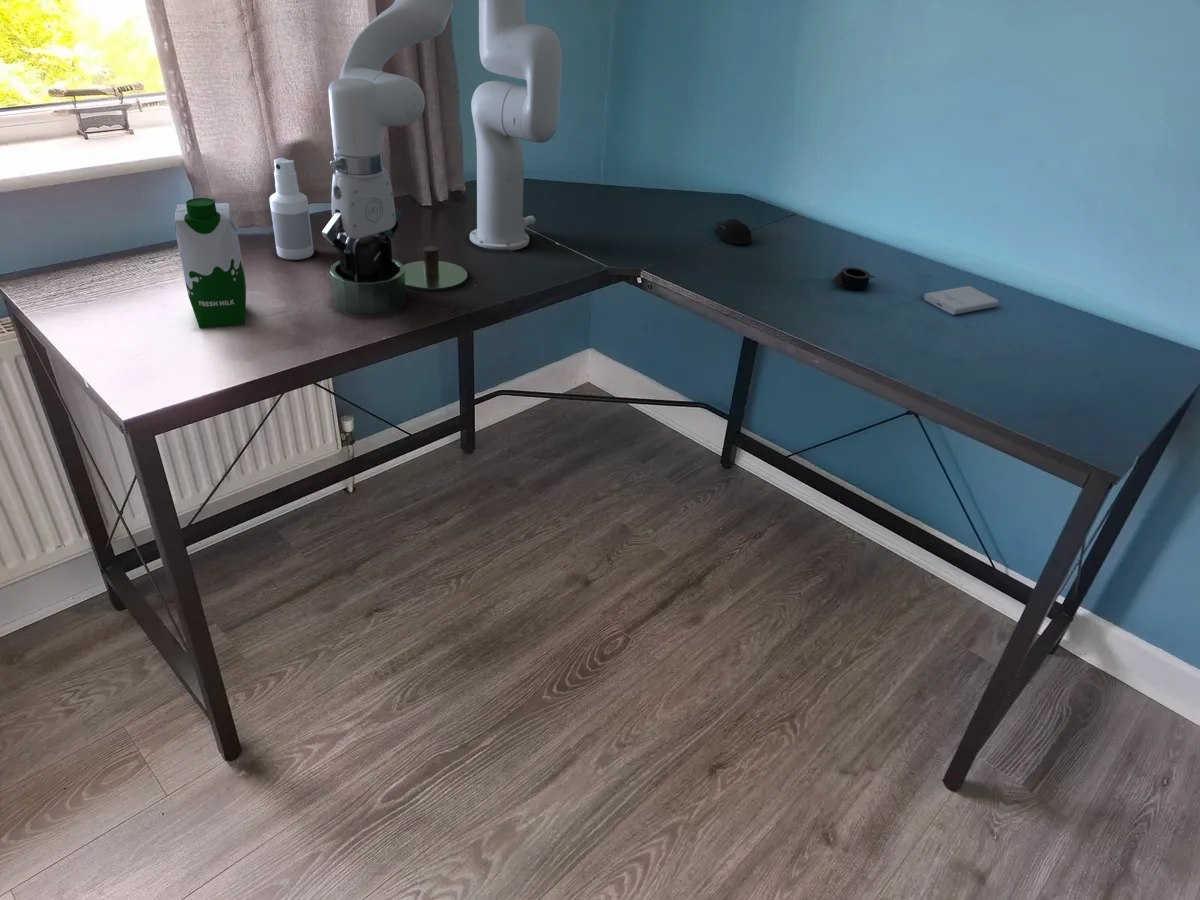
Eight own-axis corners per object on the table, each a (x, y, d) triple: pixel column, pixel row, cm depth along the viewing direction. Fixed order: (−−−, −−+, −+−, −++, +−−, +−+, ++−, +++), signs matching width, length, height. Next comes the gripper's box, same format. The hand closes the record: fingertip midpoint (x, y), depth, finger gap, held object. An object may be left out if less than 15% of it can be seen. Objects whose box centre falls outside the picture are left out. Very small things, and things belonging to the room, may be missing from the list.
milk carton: (193, 331, 134) (167, 208, 123) (194, 308, 141) (170, 189, 129) (251, 327, 136) (231, 206, 125) (250, 304, 143) (231, 187, 132)
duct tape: (825, 276, 176) (828, 263, 175) (872, 281, 176) (875, 268, 175) (831, 291, 170) (835, 277, 168) (880, 295, 170) (884, 282, 168)
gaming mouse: (732, 224, 200) (735, 207, 198) (754, 246, 188) (758, 229, 186) (707, 224, 199) (710, 207, 196) (728, 246, 187) (731, 229, 185)
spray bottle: (269, 255, 162) (255, 160, 152) (293, 245, 167) (281, 153, 157) (298, 263, 160) (286, 167, 150) (321, 252, 165) (310, 159, 155)
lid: (431, 261, 166) (430, 230, 163) (481, 280, 160) (482, 249, 157) (380, 279, 157) (377, 247, 153) (431, 300, 151) (430, 267, 147)
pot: (373, 282, 155) (370, 250, 151) (420, 302, 149) (419, 269, 146) (318, 302, 146) (314, 268, 143) (367, 324, 141) (364, 289, 137)
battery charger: (374, 310, 145) (370, 246, 138) (353, 307, 145) (347, 244, 138) (386, 294, 151) (382, 232, 144) (366, 292, 151) (361, 230, 144)
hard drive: (996, 308, 169) (953, 315, 164) (965, 292, 175) (922, 299, 170) (999, 300, 168) (956, 308, 163) (968, 285, 174) (925, 291, 169)
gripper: (330, 178, 126) (341, 287, 136) (415, 159, 139) (419, 260, 148) (298, 166, 130) (311, 274, 140) (384, 149, 142) (390, 249, 152)
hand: (367, 266), depth 144 cm, fingers closed on battery charger, 7 cm apart
